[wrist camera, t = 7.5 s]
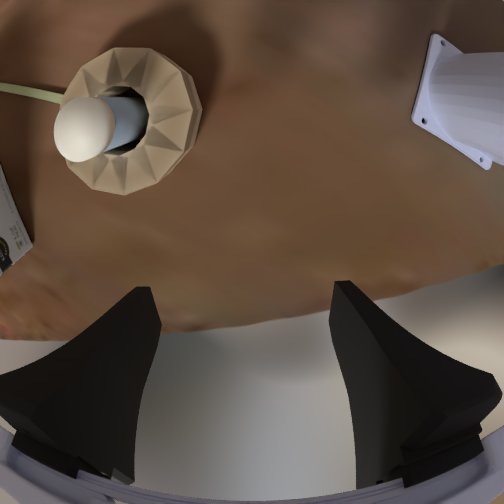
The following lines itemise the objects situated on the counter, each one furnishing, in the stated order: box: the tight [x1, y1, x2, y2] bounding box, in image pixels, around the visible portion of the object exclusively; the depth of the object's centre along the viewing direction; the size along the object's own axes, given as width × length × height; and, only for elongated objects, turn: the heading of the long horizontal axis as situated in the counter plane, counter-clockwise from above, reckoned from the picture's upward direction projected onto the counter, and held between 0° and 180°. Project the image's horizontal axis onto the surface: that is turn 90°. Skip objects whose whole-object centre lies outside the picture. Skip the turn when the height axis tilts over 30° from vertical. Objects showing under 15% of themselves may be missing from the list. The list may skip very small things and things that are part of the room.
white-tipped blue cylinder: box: [54, 97, 149, 162], centre depth 13 cm, size 3×3×7 cm
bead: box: [60, 48, 203, 195], centre depth 15 cm, size 9×9×3 cm
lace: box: [0, 83, 64, 104], centre depth 13 cm, size 14×1×1 cm, turn 65°
